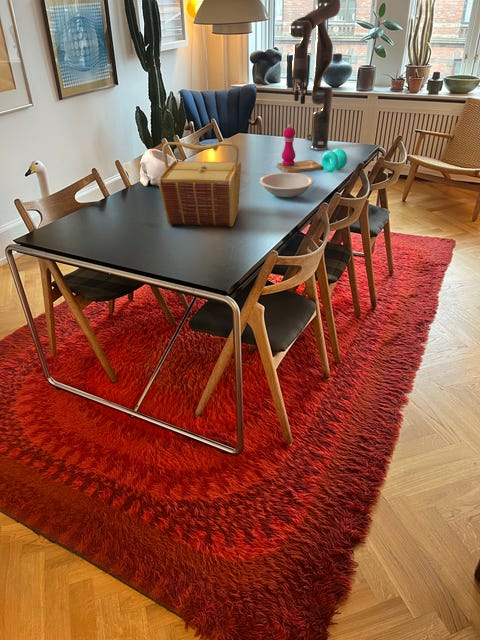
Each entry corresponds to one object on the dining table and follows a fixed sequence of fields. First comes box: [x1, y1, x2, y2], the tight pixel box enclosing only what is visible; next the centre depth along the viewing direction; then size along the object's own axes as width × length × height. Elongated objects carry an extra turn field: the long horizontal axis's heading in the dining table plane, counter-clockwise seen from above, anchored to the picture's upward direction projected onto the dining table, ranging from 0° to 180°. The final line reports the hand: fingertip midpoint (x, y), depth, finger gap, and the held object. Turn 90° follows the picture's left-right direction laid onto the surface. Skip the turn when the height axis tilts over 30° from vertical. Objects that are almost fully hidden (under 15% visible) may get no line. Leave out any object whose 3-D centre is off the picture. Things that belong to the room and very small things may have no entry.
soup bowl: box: [259, 172, 315, 198], centre depth 215 cm, size 24×24×7 cm
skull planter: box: [139, 148, 177, 187], centre depth 230 cm, size 14×20×19 cm
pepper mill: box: [281, 123, 297, 166], centre depth 246 cm, size 7×7×20 cm
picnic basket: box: [158, 141, 242, 228], centre depth 185 cm, size 29×26×30 cm
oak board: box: [277, 159, 324, 173], centre depth 251 cm, size 14×20×2 cm
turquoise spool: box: [321, 148, 348, 173], centre depth 244 cm, size 10×10×10 cm
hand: (299, 102), depth 248 cm, fingers open, 8 cm apart
